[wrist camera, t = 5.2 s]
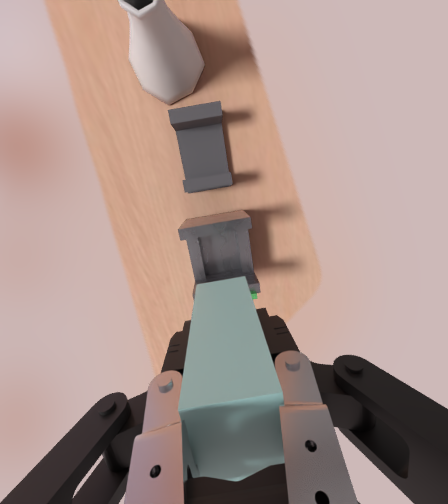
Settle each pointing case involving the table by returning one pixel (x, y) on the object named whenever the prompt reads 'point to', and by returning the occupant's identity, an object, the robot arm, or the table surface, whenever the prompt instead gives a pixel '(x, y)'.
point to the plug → (230, 385)
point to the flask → (162, 50)
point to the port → (220, 248)
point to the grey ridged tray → (201, 146)
